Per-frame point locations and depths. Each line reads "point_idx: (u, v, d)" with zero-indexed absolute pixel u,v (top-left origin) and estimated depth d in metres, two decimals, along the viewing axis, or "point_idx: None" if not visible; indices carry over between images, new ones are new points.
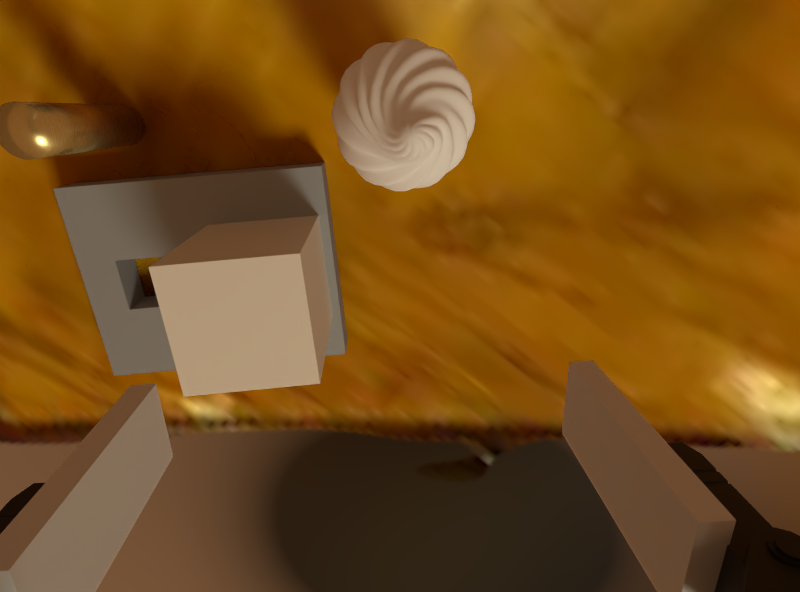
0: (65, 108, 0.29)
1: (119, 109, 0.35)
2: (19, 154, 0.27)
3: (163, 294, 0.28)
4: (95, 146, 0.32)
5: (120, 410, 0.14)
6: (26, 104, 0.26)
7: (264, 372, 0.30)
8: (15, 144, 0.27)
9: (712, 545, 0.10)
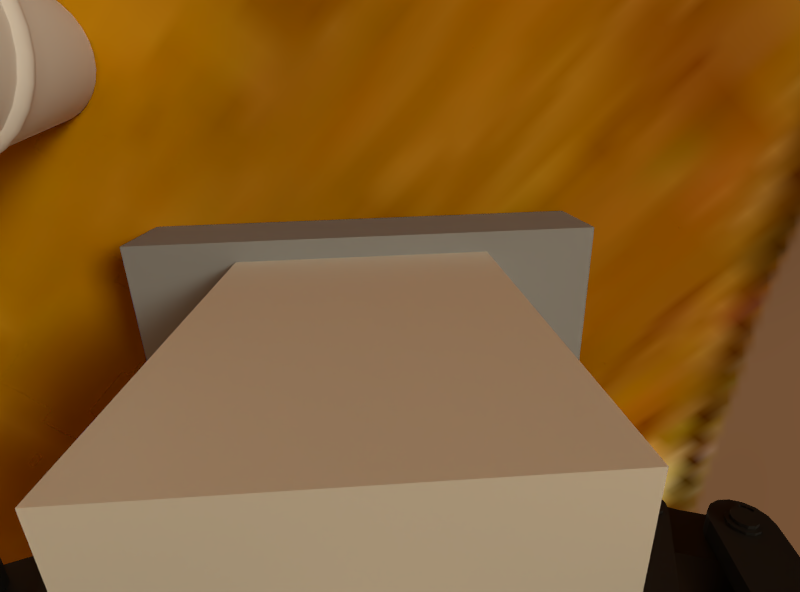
0: None
1: None
2: None
3: None
4: None
5: None
6: None
7: None
8: None
9: None
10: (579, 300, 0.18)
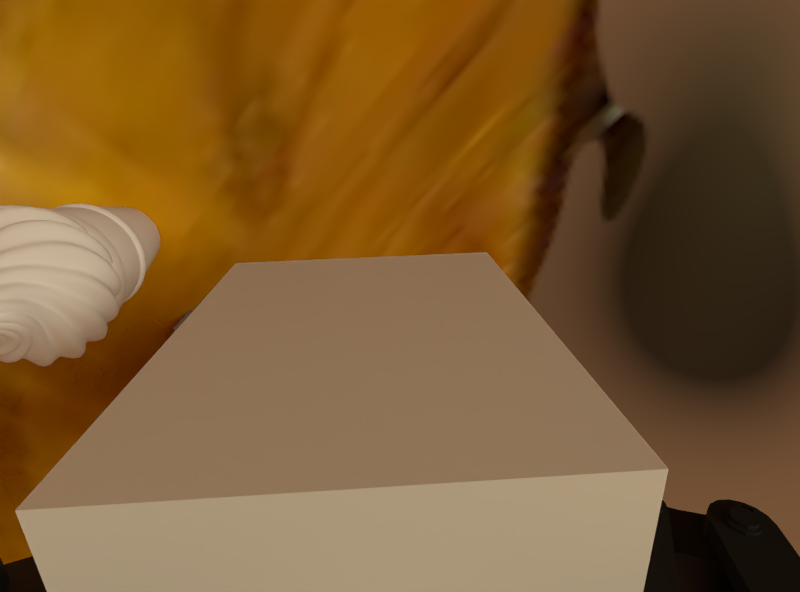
0: None
1: None
2: None
3: None
4: None
5: None
6: None
7: None
8: None
9: None
10: None
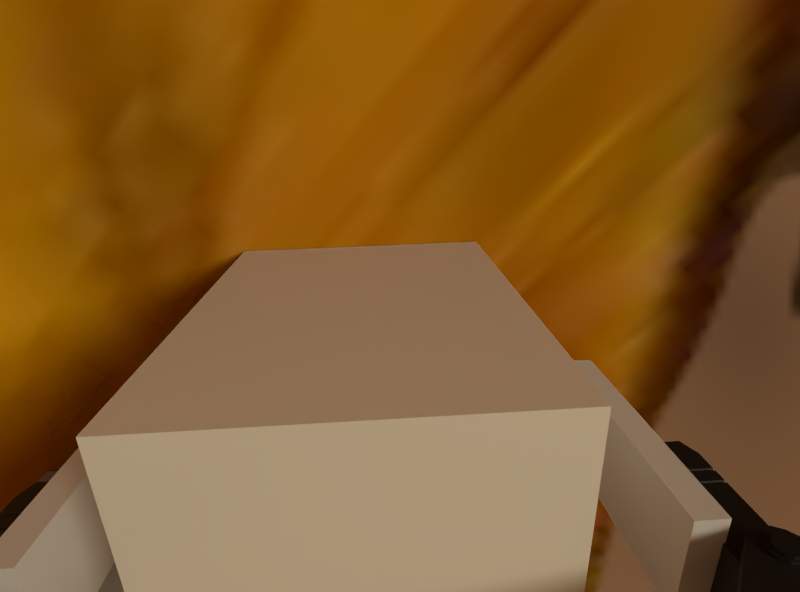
0: None
1: None
2: None
3: None
4: None
5: None
6: None
7: (528, 561, 0.09)
8: None
9: (708, 543, 0.10)
10: None
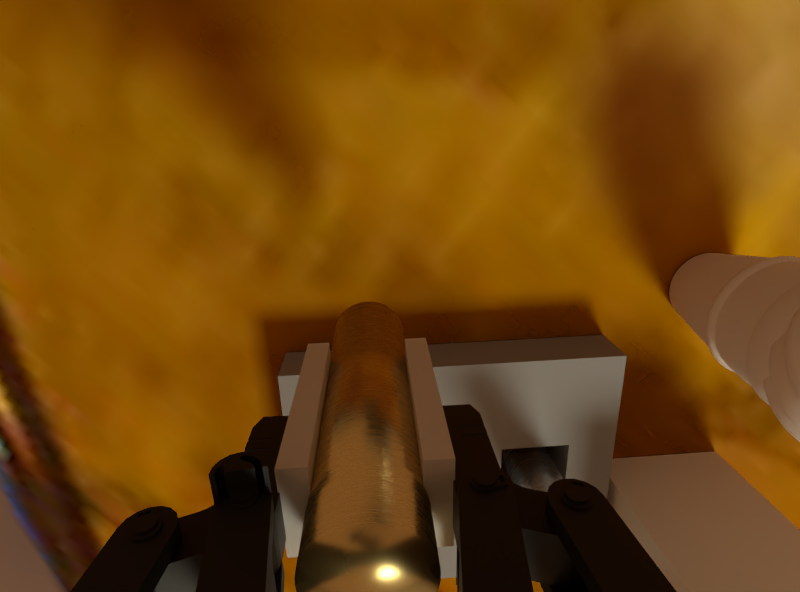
0: (405, 441, 0.12)
1: (394, 333, 0.19)
2: None
3: None
4: None
5: (313, 361, 0.16)
6: (398, 526, 0.10)
7: None
8: None
9: (440, 480, 0.12)
10: None
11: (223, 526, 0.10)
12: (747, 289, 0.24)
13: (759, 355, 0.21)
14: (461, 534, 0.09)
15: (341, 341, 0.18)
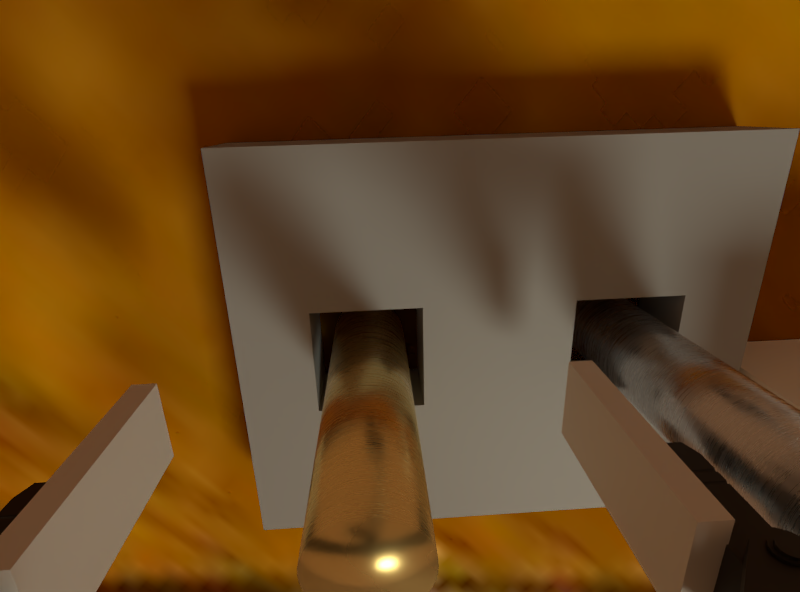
0: (404, 438, 0.13)
1: (393, 332, 0.19)
2: None
3: None
4: None
5: (121, 409, 0.14)
6: (397, 519, 0.10)
7: None
8: None
9: (711, 544, 0.10)
10: None
11: None
12: None
13: None
14: None
15: (342, 339, 0.18)
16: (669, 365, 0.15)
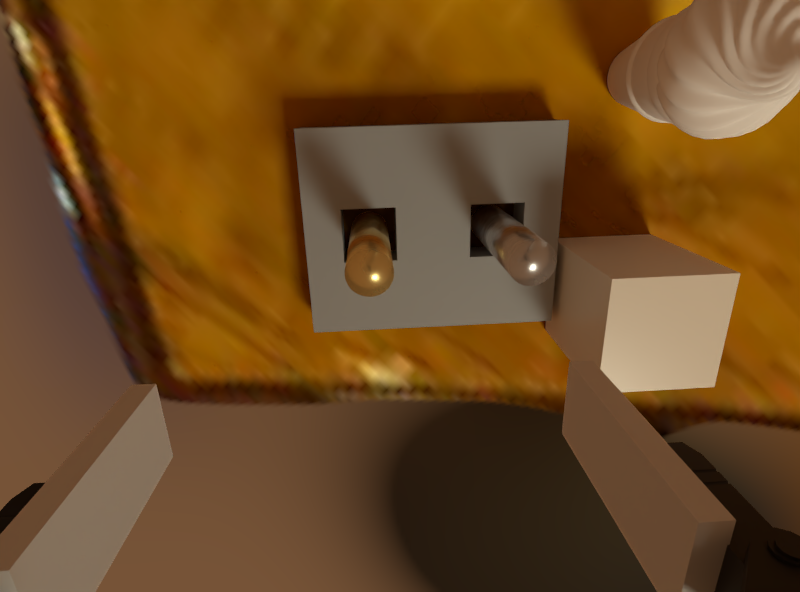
0: (383, 243, 0.32)
1: (381, 222, 0.38)
2: (360, 292, 0.30)
3: (615, 303, 0.32)
4: None
5: (120, 410, 0.14)
6: (379, 252, 0.29)
7: (672, 375, 0.34)
8: (360, 284, 0.30)
9: (712, 545, 0.10)
10: (520, 319, 0.41)
11: None
12: (652, 35, 0.31)
13: (653, 67, 0.29)
14: None
15: (356, 223, 0.37)
16: (496, 225, 0.35)
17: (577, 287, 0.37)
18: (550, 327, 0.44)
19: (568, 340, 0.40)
